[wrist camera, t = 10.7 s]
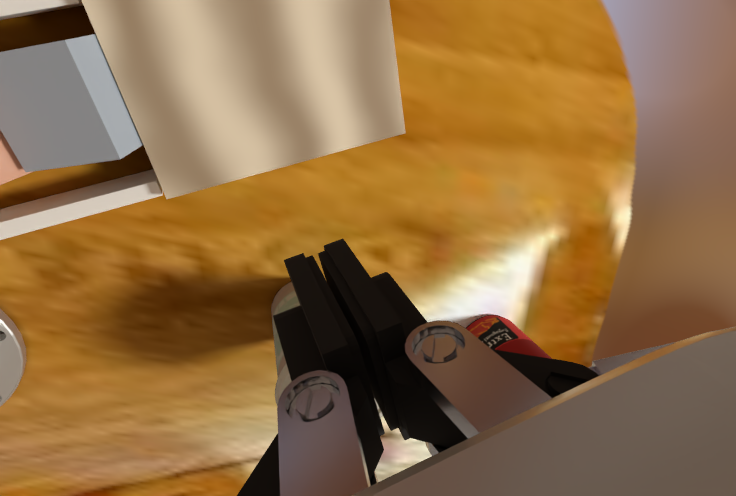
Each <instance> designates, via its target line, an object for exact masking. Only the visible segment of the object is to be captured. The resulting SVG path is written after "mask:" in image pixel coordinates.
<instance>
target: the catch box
mask: <svg viewBox="0 0 736 496" xmlns="http://www.w3.org/2000/svg"><path fill="white" fill-rule="evenodd" d="M78 6H84V5H83V3H82V0H0V20H3V19H9V18H15V17H21V16H26V15H32V14H38V13H44V12H49V11H55V10H61V9H66V8H72V7H78ZM162 195H163V189H162V187H161V185H160V182H159V180H158V178H157V175H156V173H155V171H154V169H152V170H148V171H144V172H140V173H137V174H133V175H129V176H125V177H121V178H117V179H114V180H110V181H106V182H102V183H98V184H94V185H91V186H87V187H83V188H79V189H75V190H71V191H68V192H64V193H60V194H56V195H52V196H48V197H45V198H41V199H37V200H33V201H29V202H25V203H21V204H18V205H14V206H10V207H6V208H2V209H0V240H2V239H5V238H9V237H13V236H16V235H20V234H24V233H27V232H31V231H34V230H38V229H42V228H45V227H49V226H53V225H56V224H60V223H64V222H67V221H71V220H75V219H78V218H82V217H85V216H89V215H93V214H96V213H100V212H104V211H107V210H111V209H115V208H118V207H122V206H126V205H129V204H133V203H136V202H140V201H144V200H147V199H151V198H155V197H158V196H162Z"/></svg>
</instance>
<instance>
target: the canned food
mask: <svg viewBox="0 0 736 496" xmlns="http://www.w3.org/2000/svg"><path fill="white" fill-rule="evenodd" d="M466 329H467V330H468V331H469V332H471V333H472V334H473V335H474V336H476V337H477V338H478V339H479V340H481V341H482V342H483V343H484V344H486V345H487V346H488V347H489V348H491V349H495V350H501V351H507V352H513V353H519V354H525V355H532V356H538V357H544V358H550V359H552V358H551V357H549V356H548V355H547V354H546V353H545V352H544V351H543V350H542V349H541V348H540V347H538V346H537V345H536V344H535V343H534V342H533V341H532V340H531V339H530V338H529V337H527V336H526V335H525V334H524V333H523V332H522V331H521V330H520V329H519V328H518V327H516V326H515V325H514V324H513V323H512V322H511V321H509V320H508V319H505V318H503V317H501V316H496V315H489V316H485V317H482V318H480V319H478V320H476V321H475V322H473V323H472V324H470V325H469V326H468V327H467V328H466Z"/></svg>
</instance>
